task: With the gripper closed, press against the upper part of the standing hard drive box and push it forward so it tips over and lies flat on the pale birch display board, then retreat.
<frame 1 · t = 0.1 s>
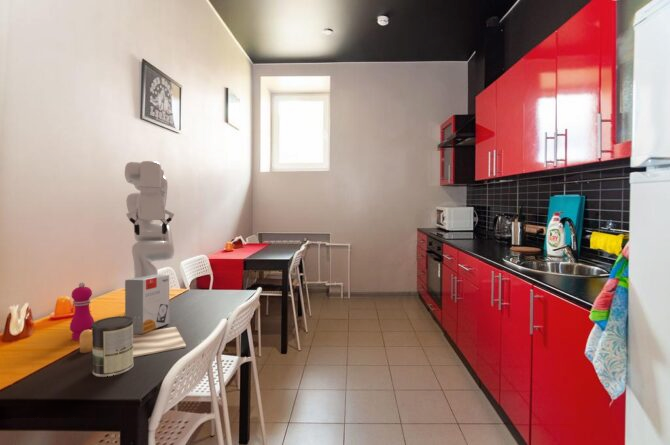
hand: (151, 234, 142), 36 cm above the table, tool pointing down, fingers open, 9 cm apart
board: (153, 341, 123), on the table
coffee can: (113, 369, 103), on the table
salt shaker: (87, 350, 115), on the table
hard drive box: (148, 328, 136), on the table, touching board
pepper mill: (82, 337, 127), on the table
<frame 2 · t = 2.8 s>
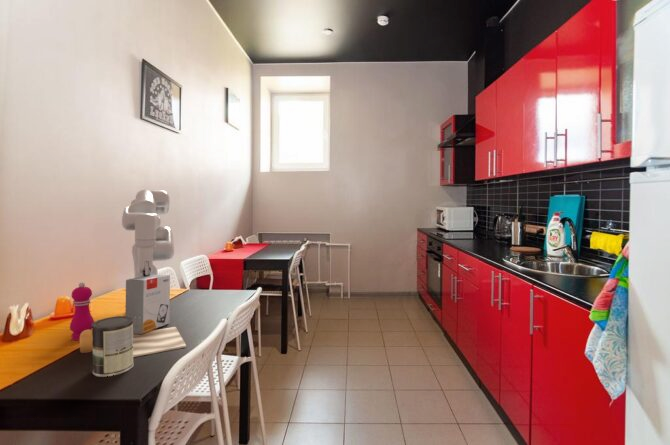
hand: (145, 288, 144), 14 cm above the table, tool pointing down, fingers closed
hard drive box: (148, 328, 136), on the table, touching board, gripper
everything else where it was.
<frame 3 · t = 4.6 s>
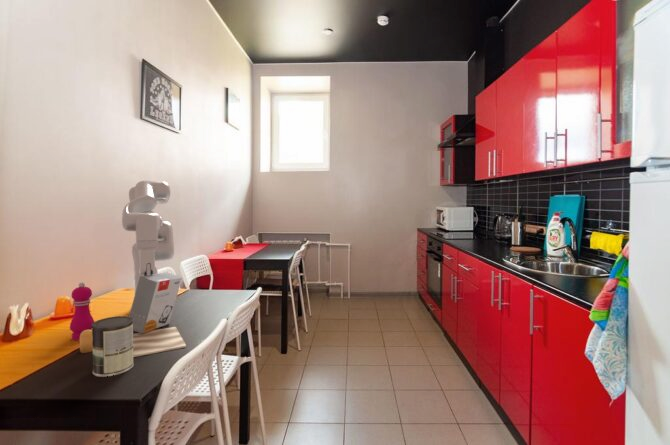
hand: (147, 291, 138), 14 cm above the table, tool pointing down, fingers closed
hard drive box: (148, 326, 136), point 1 cm above the table, touching board
everything else where it was.
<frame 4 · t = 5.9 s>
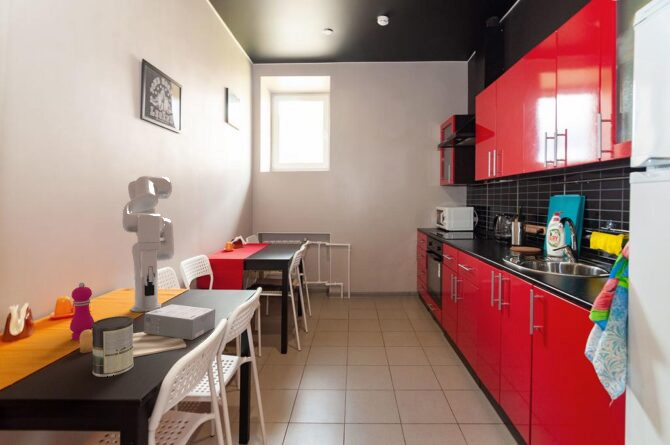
hand: (149, 295, 131), 14 cm above the table, tool pointing down, fingers closed
hard drive box: (157, 317, 135), point 5 cm above the table, touching board
everything else where it was.
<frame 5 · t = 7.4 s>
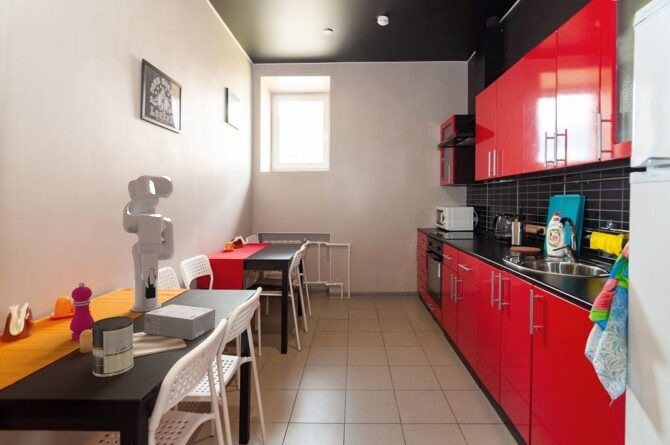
hand: (150, 297, 129), 14 cm above the table, tool pointing down, fingers closed
nothing on the table moved.
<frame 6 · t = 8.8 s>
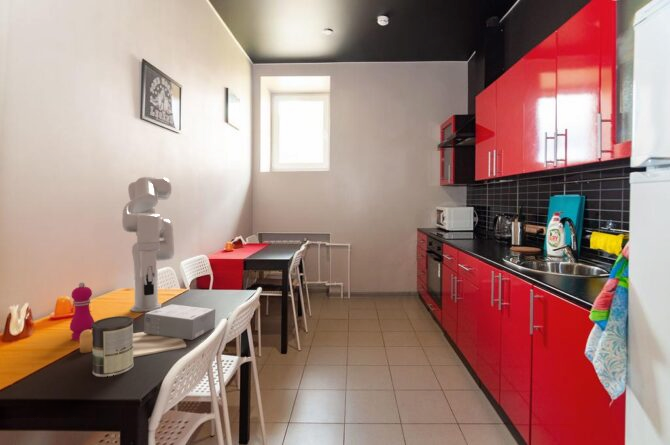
hand: (148, 294, 134), 14 cm above the table, tool pointing down, fingers closed
nothing on the table moved.
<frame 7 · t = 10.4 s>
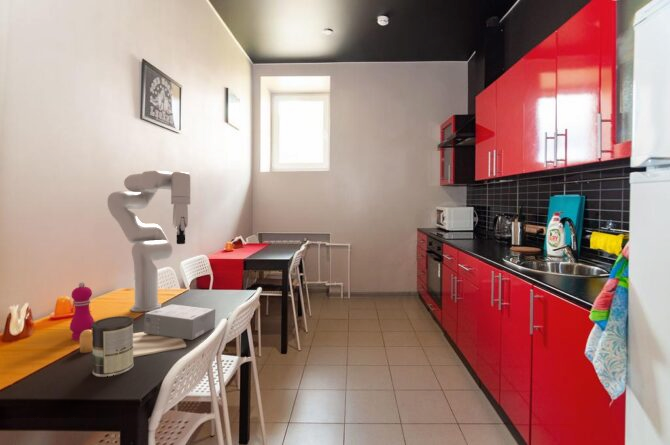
hand: (180, 243, 150), 32 cm above the table, tool pointing down, fingers closed
nothing on the table moved.
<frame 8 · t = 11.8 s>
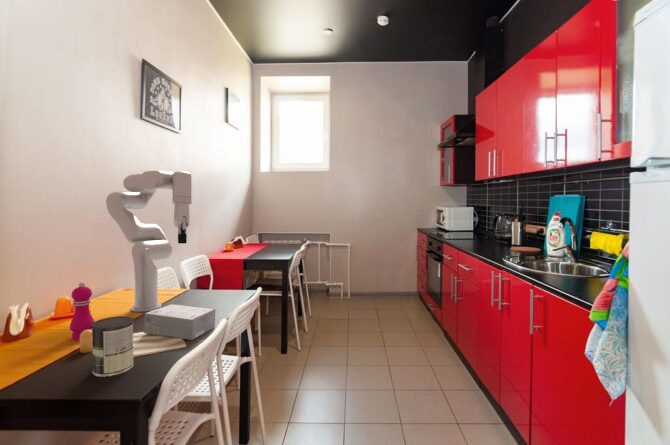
hand: (182, 243, 151), 32 cm above the table, tool pointing down, fingers closed
nothing on the table moved.
at the end: hard drive box tilted 92°; hard drive box inside the target area (7.4 cm from its centre), point 4.6 cm above the table; hard drive box touching board, table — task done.
